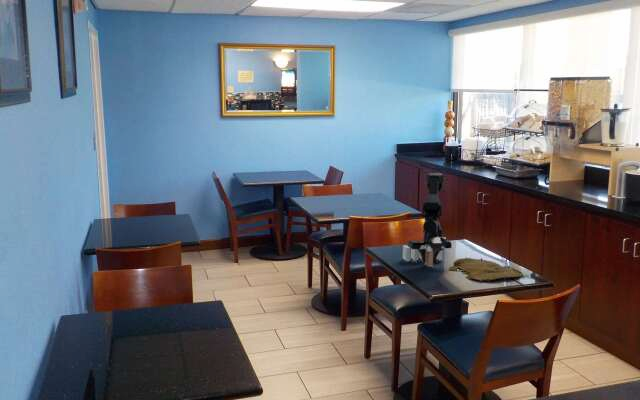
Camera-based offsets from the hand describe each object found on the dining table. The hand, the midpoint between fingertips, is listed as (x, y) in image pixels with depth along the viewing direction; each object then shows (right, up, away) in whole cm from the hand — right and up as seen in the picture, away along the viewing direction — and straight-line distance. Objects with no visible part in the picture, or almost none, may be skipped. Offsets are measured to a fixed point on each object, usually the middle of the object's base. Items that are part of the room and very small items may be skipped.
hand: (428, 263), depth 260 cm
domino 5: (0, -2, 0) cm, 2 cm away
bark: (+24, -4, -7) cm, 25 cm away
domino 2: (-5, 0, +9) cm, 10 cm away
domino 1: (-9, 0, +8) cm, 12 cm away
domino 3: (-1, 0, +10) cm, 10 cm away
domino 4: (+3, 0, +10) cm, 11 cm away
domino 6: (+7, 0, +11) cm, 13 cm away
